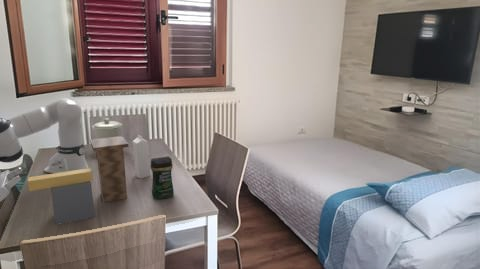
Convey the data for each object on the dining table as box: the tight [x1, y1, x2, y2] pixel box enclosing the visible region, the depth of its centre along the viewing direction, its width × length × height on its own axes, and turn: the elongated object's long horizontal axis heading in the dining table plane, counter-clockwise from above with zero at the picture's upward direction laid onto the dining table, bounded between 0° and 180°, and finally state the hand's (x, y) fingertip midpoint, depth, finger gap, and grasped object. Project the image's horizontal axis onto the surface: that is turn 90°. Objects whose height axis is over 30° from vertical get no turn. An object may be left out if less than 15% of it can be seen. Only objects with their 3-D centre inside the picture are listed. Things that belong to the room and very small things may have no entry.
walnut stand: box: [89, 135, 130, 203], centre depth 156 cm, size 14×14×26 cm
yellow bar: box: [27, 167, 94, 192], centre depth 136 cm, size 22×4×4 cm, turn 118°
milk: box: [132, 134, 151, 179], centre depth 181 cm, size 6×6×22 cm
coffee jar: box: [150, 155, 175, 200], centre depth 157 cm, size 10×8×19 cm
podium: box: [50, 181, 96, 225], centre depth 139 cm, size 14×10×14 cm
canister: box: [91, 117, 123, 139], centre depth 224 cm, size 18×18×21 cm
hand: (20, 173), depth 128 cm, fingers open, 8 cm apart
